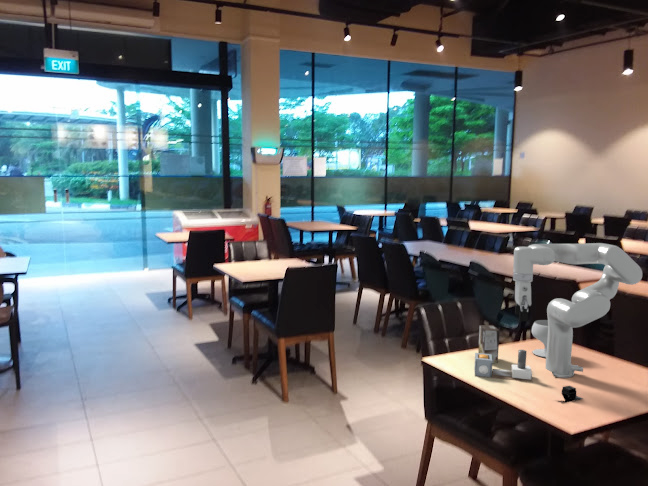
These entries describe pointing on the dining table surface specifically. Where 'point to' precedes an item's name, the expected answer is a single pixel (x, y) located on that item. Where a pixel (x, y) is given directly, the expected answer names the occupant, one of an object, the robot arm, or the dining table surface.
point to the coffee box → (489, 341)
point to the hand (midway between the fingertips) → (521, 317)
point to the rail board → (505, 375)
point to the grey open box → (483, 365)
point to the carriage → (521, 367)
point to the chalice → (540, 336)
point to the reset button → (483, 356)
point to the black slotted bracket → (570, 394)
